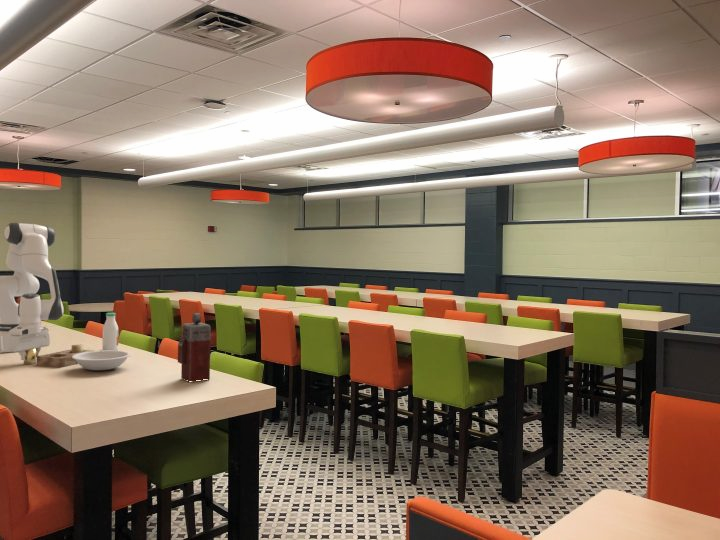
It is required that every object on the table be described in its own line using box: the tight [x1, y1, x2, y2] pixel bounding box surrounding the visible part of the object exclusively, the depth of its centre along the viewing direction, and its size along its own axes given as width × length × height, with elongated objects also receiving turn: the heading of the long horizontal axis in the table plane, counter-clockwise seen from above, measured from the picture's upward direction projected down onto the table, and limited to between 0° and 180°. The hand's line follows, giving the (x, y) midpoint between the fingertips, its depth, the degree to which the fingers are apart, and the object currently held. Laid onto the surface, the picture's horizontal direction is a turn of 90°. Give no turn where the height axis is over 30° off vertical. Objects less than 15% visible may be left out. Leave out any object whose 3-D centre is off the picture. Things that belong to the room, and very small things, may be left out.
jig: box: [36, 344, 93, 368], centre depth 266 cm, size 14×22×7 cm, turn 165°
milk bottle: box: [101, 312, 119, 351], centre depth 300 cm, size 8×8×20 cm
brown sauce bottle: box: [177, 312, 212, 381], centre depth 236 cm, size 9×11×28 cm
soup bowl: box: [72, 350, 132, 371], centre depth 252 cm, size 24×24×7 cm
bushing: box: [23, 348, 37, 366], centre depth 260 cm, size 5×5×7 cm
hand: (29, 358), depth 260 cm, fingers closed on bushing, 5 cm apart
